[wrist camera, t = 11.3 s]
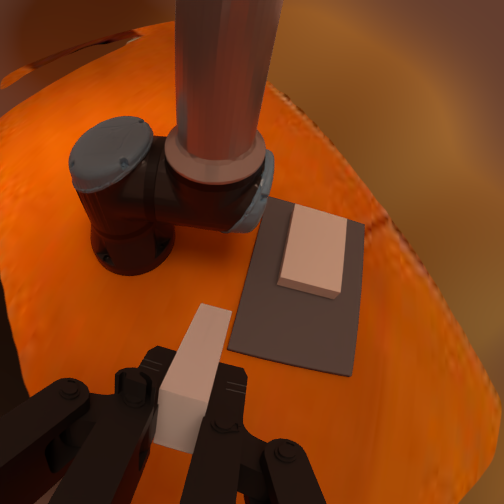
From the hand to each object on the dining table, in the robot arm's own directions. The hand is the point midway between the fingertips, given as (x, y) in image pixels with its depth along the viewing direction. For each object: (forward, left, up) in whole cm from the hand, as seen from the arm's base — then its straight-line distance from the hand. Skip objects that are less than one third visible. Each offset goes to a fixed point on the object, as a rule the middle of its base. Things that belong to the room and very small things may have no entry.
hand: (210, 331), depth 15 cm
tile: (-11, +19, -31) cm, 38 cm away
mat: (-13, +21, -34) cm, 42 cm away
